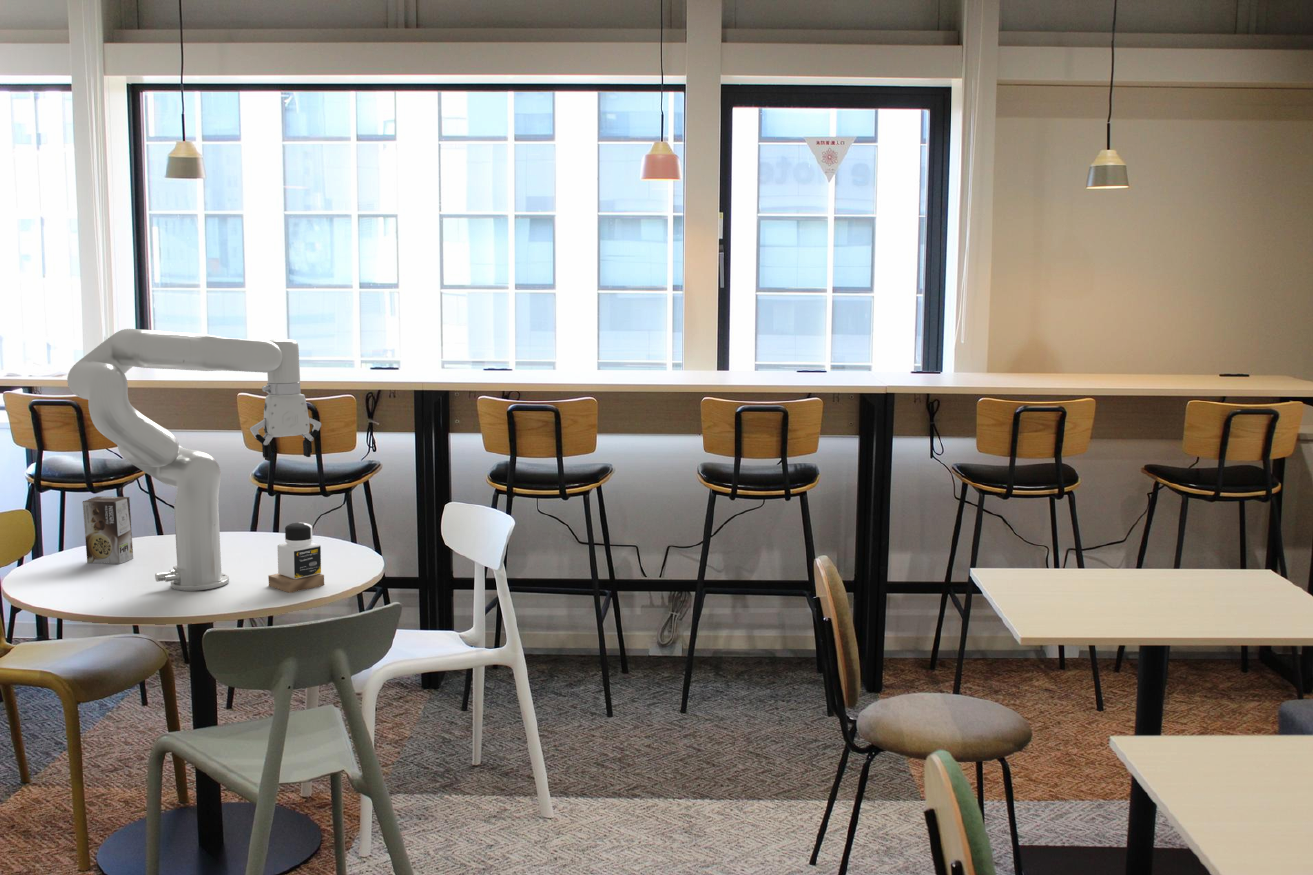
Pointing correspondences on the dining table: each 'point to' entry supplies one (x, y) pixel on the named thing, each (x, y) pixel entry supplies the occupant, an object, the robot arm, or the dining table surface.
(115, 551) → the coffee box
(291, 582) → the walnut riser block
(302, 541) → the medicine bottle
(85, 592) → the dining table surface
